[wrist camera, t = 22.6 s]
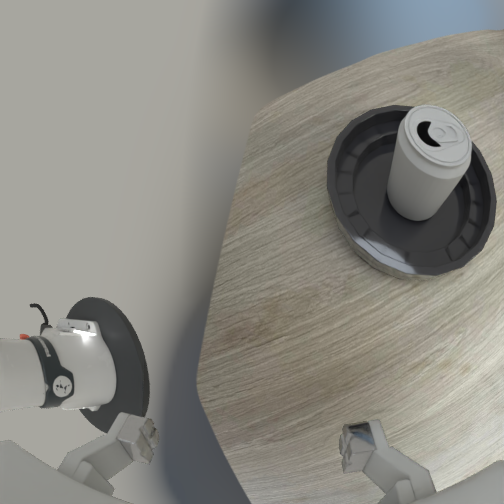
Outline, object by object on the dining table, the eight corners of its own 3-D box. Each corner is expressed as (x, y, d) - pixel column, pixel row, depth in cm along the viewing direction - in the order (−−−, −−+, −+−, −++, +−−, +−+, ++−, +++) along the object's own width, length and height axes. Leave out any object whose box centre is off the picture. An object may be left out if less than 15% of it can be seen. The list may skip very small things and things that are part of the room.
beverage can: (381, 172, 27) (388, 101, 16) (430, 168, 25) (457, 100, 14) (391, 225, 26) (413, 172, 15) (444, 220, 23) (488, 169, 12)
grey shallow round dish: (326, 275, 28) (321, 268, 23) (332, 128, 31) (326, 103, 26) (482, 284, 21) (502, 279, 17) (464, 138, 24) (474, 116, 20)
